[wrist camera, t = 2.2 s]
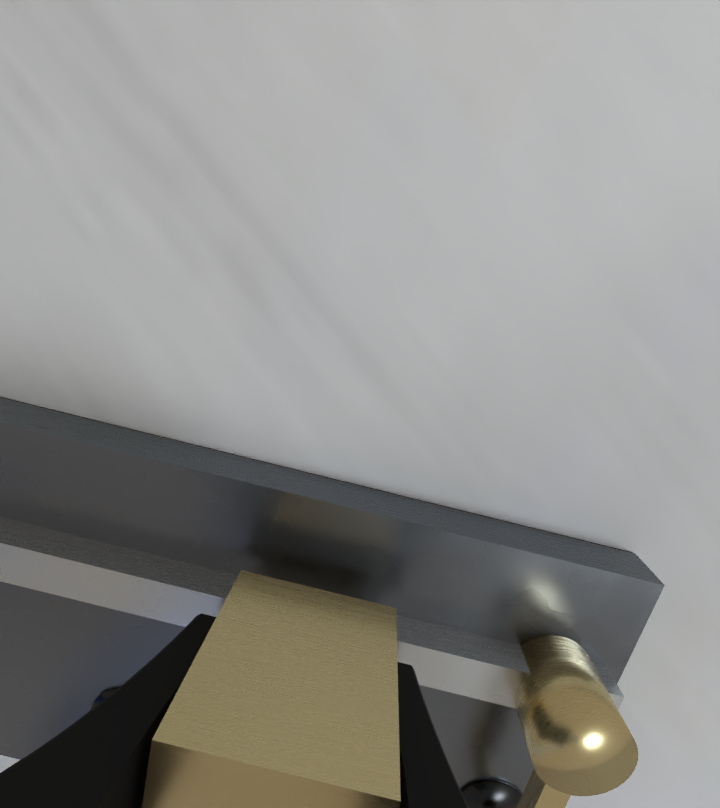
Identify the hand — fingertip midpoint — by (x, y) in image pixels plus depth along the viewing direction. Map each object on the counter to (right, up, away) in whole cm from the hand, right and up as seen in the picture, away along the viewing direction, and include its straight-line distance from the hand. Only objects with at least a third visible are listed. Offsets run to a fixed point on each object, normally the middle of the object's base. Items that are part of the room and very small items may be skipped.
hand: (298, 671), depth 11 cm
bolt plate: (-1, -1, +4) cm, 4 cm away
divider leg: (0, -2, +2) cm, 3 cm away
